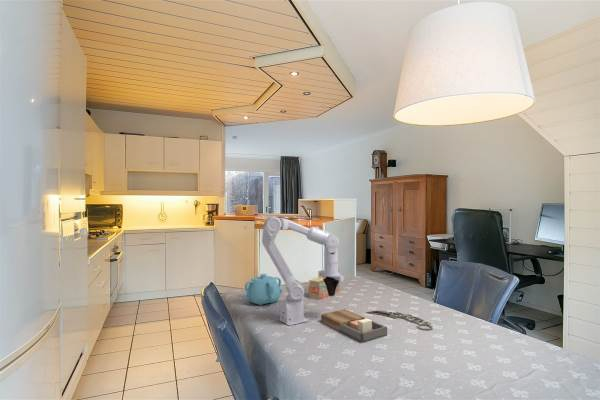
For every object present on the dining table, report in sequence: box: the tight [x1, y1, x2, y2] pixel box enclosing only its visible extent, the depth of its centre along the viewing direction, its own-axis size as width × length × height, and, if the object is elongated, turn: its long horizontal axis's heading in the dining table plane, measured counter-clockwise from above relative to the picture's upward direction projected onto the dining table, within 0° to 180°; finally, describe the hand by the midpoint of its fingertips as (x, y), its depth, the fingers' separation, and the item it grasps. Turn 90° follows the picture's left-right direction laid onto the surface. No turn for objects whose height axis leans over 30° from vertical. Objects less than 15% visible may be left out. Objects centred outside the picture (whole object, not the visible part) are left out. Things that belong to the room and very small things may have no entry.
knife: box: [366, 310, 434, 331], centre depth 135 cm, size 28×2×10 cm
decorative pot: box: [243, 273, 283, 306], centre depth 162 cm, size 16×16×14 cm
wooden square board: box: [320, 308, 365, 332], centre depth 131 cm, size 12×12×3 cm
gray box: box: [339, 317, 388, 344], centre depth 120 cm, size 12×12×3 cm
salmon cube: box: [350, 320, 359, 331], centre depth 123 cm, size 4×4×3 cm
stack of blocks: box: [308, 268, 340, 301], centre depth 174 cm, size 21×6×12 cm, turn 145°
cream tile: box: [358, 318, 373, 333], centre depth 120 cm, size 4×4×3 cm
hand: (331, 295), depth 137 cm, fingers closed
